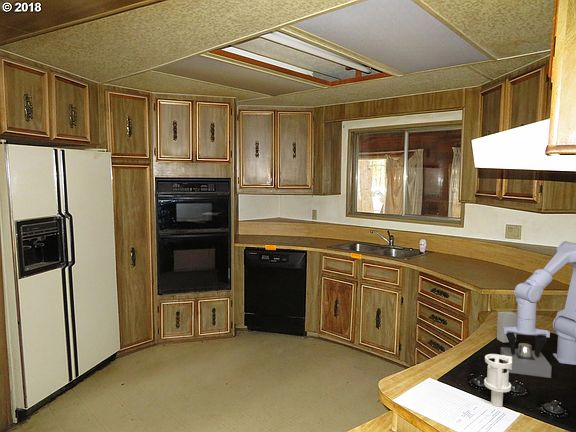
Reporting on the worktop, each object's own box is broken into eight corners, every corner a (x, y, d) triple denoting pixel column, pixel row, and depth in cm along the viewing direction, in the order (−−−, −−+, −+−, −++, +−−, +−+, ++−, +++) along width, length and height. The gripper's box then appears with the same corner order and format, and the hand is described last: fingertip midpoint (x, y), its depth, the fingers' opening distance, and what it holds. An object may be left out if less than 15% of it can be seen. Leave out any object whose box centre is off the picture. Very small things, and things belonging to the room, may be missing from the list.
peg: (528, 362, 143) (529, 343, 143) (532, 367, 140) (533, 347, 139) (516, 361, 144) (517, 342, 144) (519, 365, 141) (520, 346, 140)
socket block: (539, 361, 146) (540, 351, 146) (550, 377, 134) (551, 366, 133) (500, 357, 150) (500, 346, 150) (507, 372, 138) (508, 361, 137)
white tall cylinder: (512, 412, 113) (514, 362, 112) (484, 407, 116) (486, 358, 115) (508, 400, 120) (510, 352, 119) (482, 395, 122) (484, 348, 121)
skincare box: (509, 338, 168) (510, 310, 168) (516, 342, 164) (517, 314, 163) (496, 339, 168) (497, 311, 167) (502, 343, 163) (503, 314, 163)
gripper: (545, 315, 143) (543, 352, 144) (500, 312, 146) (499, 347, 147) (552, 321, 136) (551, 360, 137) (506, 318, 140) (504, 355, 141)
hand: (524, 354), depth 142 cm, fingers open, 7 cm apart
